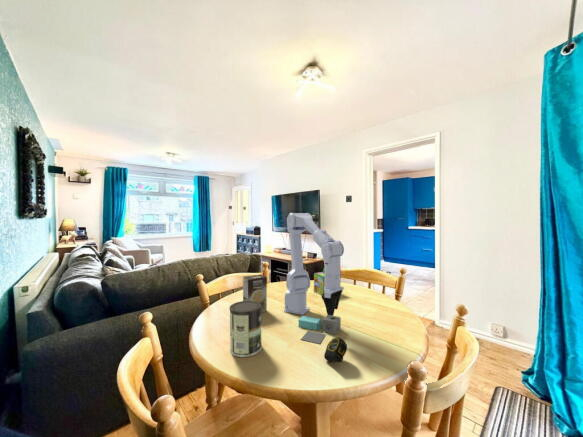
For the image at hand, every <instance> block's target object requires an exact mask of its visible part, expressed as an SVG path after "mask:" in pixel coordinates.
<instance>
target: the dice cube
mask: <svg viewBox="0 0 583 437" xmlns="http://www.w3.org/2000/svg"><path fill="white" fill-rule="evenodd" d="M341 319H342V318H341V317H340V316H335V315H333V316H332V315H327V314H326V316H325V317H323V318H322V332H323V333H327V334H331V335H334V336H336V335H337V333H339V331H341V330H342V329H341V328H342V326H341V323H342V322H341Z"/></svg>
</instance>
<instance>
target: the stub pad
mask: <svg viewBox="0 0 583 437" xmlns="http://www.w3.org/2000/svg"><path fill="white" fill-rule="evenodd" d="M326 336H327V334H326V333H322V332H321V333H320V332H318V331H317V332H316V331H313V330H307V331H306V332H305V334H304V335H303V336H302V337H301V338H300V340H301V341H304V342H308V343H312V344H317V345H321V343H322V342H323V340H324V339H325V338H326Z"/></svg>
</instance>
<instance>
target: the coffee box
mask: <svg viewBox="0 0 583 437" xmlns="http://www.w3.org/2000/svg"><path fill="white" fill-rule="evenodd" d="M242 279H243V282H242V286H243V287H242V297H243V298H242V301H256V302H259V303H261V313H264V312H267V308H268V307H267V305H268V304H267V303H268V300H267V298H268V297H267V296H268V295H267V294H268V293H267V290H268V287H267V285H268V283H267V282H268V280H267V279H268V277H267V276H266V275H263V274H254V275H253V274H252V275H245V276H242Z"/></svg>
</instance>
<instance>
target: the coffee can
mask: <svg viewBox="0 0 583 437" xmlns="http://www.w3.org/2000/svg"><path fill="white" fill-rule="evenodd" d="M228 308H229V324H230V325H229V329H230V330H229V331H230V332H229V336H230V338H229V339H230V342H229V344H230V345H229V346H230V347H229V348H230V349H229V351H230V353H231V355H232V356H234V357H237V358H249V357H252V356H255V355H257V354H258V353H260V352H261V351H262V345H263V344H262V312H261V303H259V302H256V301H243V300H241V301H236V302H234V303H232V304H230V305H229V307H228Z"/></svg>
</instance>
